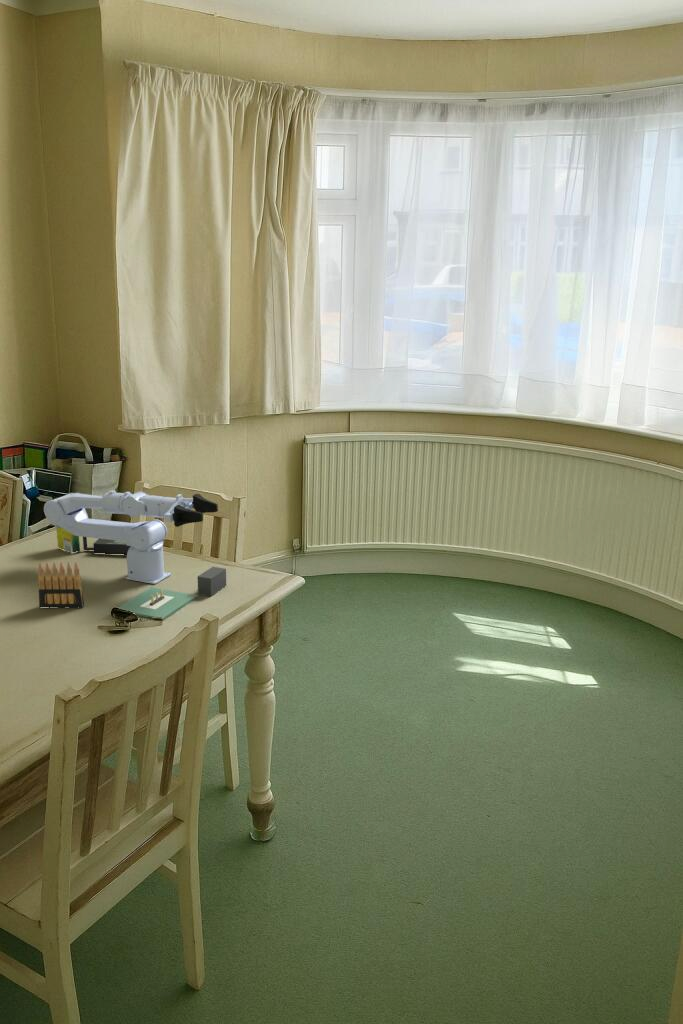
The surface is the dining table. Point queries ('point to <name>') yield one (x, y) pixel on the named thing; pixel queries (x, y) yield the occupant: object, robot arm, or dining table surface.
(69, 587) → the ammunition clip
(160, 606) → the header board
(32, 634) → the dining table surface
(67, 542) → the crayon box
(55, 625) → the dining table surface
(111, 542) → the wifi router
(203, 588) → the block
